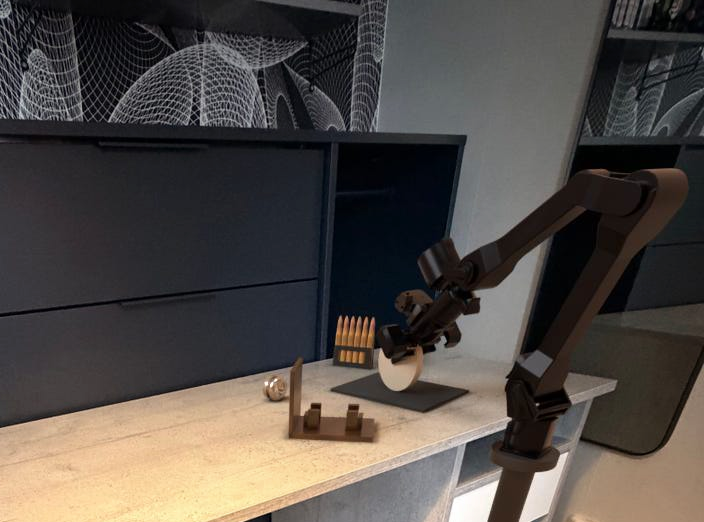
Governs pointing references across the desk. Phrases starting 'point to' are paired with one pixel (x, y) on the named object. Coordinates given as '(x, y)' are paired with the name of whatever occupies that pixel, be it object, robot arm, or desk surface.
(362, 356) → the ammunition clip
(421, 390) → the mat
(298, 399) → the stand
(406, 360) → the plate
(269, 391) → the metal grooved wheel
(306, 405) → the desk surface
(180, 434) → the desk surface
